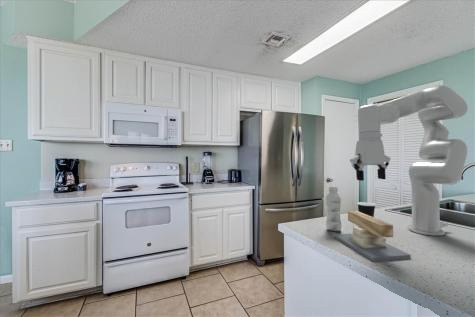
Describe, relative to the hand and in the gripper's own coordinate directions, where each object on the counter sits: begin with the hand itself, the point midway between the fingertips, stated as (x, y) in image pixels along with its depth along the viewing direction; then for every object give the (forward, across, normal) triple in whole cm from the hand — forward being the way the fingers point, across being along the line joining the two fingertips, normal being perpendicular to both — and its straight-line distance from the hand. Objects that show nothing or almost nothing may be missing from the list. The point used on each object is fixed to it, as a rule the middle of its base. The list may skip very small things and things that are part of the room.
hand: (371, 179), depth 87 cm
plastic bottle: (+25, +8, -15) cm, 30 cm away
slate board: (+25, +6, +4) cm, 26 cm away
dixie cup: (+26, -13, -19) cm, 34 cm away
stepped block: (+24, +6, +4) cm, 25 cm away
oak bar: (+18, +6, +4) cm, 19 cm away
